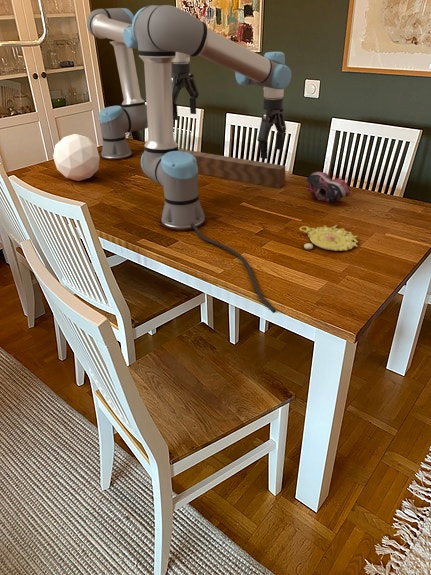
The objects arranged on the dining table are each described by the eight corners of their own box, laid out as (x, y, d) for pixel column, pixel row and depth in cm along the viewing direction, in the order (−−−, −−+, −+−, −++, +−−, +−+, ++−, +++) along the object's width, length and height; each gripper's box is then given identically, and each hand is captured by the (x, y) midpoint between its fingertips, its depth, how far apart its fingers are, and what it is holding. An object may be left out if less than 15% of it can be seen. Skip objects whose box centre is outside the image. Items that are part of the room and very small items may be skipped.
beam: (284, 184, 186) (285, 165, 182) (278, 188, 182) (279, 169, 178) (181, 165, 211) (180, 149, 207) (174, 168, 208) (173, 151, 203)
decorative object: (343, 255, 128) (285, 234, 139) (342, 262, 130) (284, 241, 140) (372, 230, 142) (317, 213, 152) (371, 237, 143) (316, 219, 153)
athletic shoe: (315, 170, 179) (291, 178, 175) (351, 165, 160) (325, 173, 156) (321, 198, 182) (297, 206, 178) (356, 196, 163) (330, 204, 159)
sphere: (86, 196, 198) (71, 170, 180) (54, 175, 203) (36, 147, 184) (114, 167, 203) (101, 138, 185) (82, 146, 208) (67, 116, 189)
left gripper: (169, 66, 172) (173, 123, 184) (205, 60, 190) (207, 112, 201) (154, 65, 176) (159, 121, 187) (191, 59, 193) (193, 110, 205)
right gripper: (279, 91, 179) (277, 145, 190) (248, 103, 161) (248, 160, 173) (296, 92, 175) (293, 147, 187) (266, 104, 158) (265, 163, 169)
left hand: (184, 116), depth 194 cm, fingers open, 13 cm apart
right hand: (271, 153), depth 180 cm, fingers open, 13 cm apart
